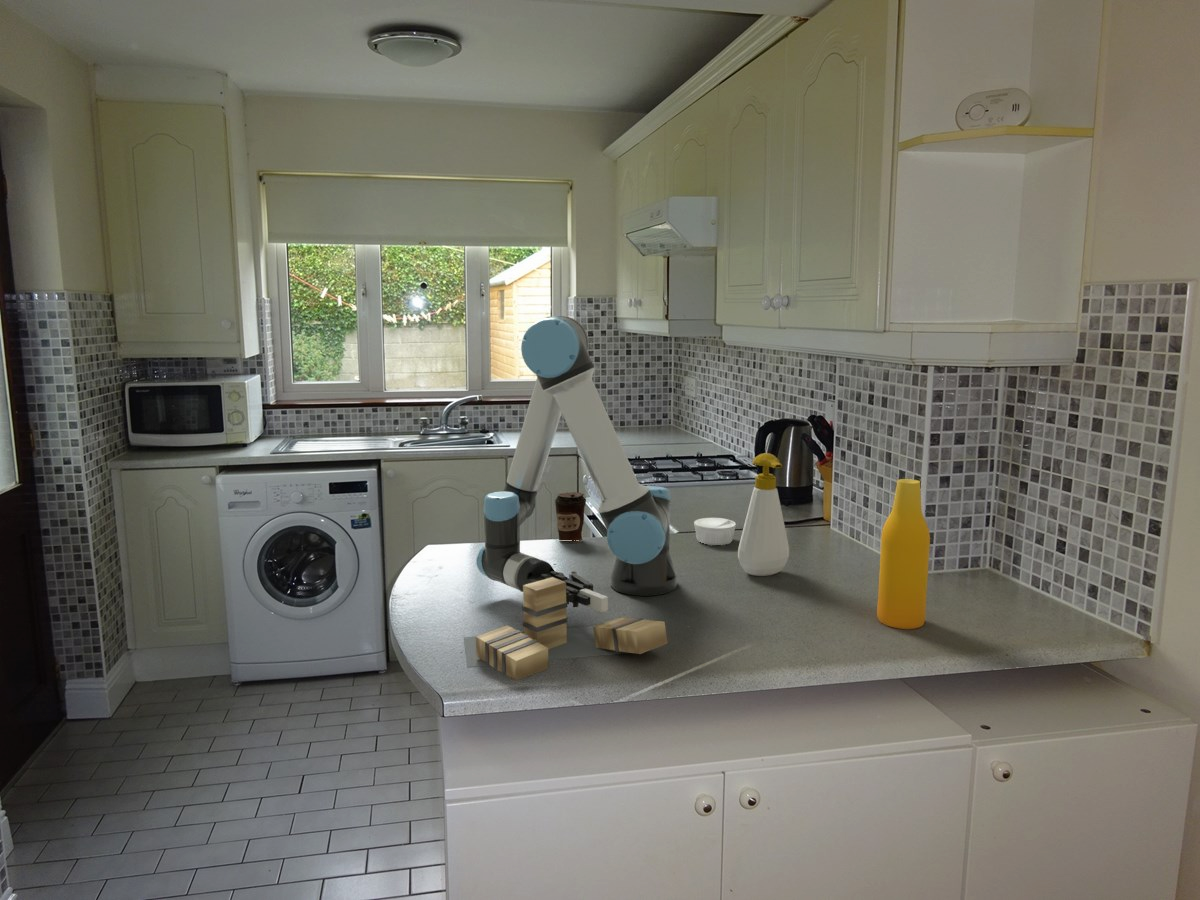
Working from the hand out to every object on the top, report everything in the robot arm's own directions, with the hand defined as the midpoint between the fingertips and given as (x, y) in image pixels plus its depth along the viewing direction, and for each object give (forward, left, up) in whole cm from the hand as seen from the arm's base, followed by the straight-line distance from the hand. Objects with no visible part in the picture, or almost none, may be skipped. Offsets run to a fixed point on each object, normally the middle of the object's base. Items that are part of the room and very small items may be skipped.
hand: (604, 604), depth 159 cm
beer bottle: (-61, +2, -8) cm, 61 cm away
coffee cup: (-6, -71, -8) cm, 72 cm away
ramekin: (-44, -62, -8) cm, 77 cm away
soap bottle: (-46, -32, -8) cm, 57 cm away
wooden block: (+11, -1, -8) cm, 14 cm away
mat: (+11, -1, -8) cm, 14 cm away
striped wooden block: (+21, +1, -5) cm, 22 cm away
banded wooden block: (-1, 0, -6) cm, 6 cm away
